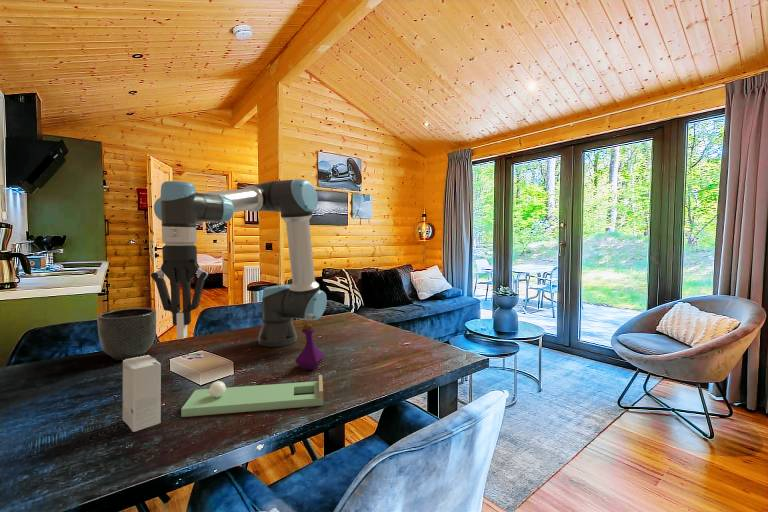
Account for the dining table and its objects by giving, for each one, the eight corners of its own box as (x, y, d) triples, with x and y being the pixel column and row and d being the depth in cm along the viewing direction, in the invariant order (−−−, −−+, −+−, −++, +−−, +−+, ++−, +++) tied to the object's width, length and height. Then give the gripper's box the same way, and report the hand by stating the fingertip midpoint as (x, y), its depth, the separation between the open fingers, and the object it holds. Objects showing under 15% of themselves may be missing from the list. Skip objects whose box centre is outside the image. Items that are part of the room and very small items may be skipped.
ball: (211, 393, 97) (211, 379, 97) (227, 392, 98) (227, 378, 97) (207, 400, 93) (207, 385, 93) (224, 399, 94) (223, 384, 93)
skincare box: (122, 421, 87) (119, 359, 86) (150, 411, 91) (148, 353, 90) (133, 433, 81) (130, 368, 80) (163, 423, 86) (161, 361, 85)
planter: (87, 361, 126) (85, 315, 125) (137, 347, 142) (135, 306, 141) (120, 368, 120) (118, 320, 119) (168, 352, 136) (167, 310, 135)
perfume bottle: (316, 372, 117) (316, 317, 116) (294, 370, 119) (294, 316, 118) (325, 364, 125) (324, 312, 123) (304, 362, 126) (304, 311, 125)
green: (195, 397, 100) (195, 383, 99) (322, 387, 106) (322, 374, 106) (181, 417, 89) (180, 401, 88) (323, 405, 95) (323, 391, 95)
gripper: (143, 245, 86) (147, 343, 88) (203, 245, 89) (205, 340, 90) (157, 244, 94) (160, 334, 95) (211, 244, 96) (213, 332, 98)
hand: (182, 337), depth 93 cm, fingers closed
